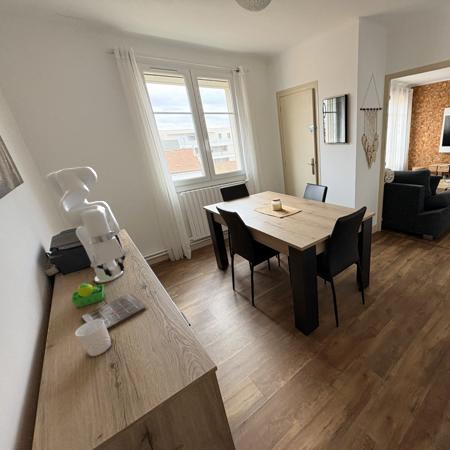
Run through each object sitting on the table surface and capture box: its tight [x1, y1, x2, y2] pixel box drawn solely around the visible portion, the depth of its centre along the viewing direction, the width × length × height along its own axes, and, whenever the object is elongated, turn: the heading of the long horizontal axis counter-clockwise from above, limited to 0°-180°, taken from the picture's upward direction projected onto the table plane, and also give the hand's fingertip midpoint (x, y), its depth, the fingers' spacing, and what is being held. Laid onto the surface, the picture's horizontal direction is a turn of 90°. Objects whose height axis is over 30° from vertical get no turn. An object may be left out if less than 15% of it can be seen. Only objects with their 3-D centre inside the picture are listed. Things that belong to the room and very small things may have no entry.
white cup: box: [74, 319, 112, 357], centre depth 86 cm, size 8×8×10 cm
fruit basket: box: [70, 283, 105, 308], centre depth 111 cm, size 11×9×11 cm
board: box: [81, 293, 146, 332], centre depth 104 cm, size 18×18×1 cm
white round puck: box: [109, 264, 122, 276], centre depth 110 cm, size 4×4×3 cm
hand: (115, 272), depth 111 cm, fingers closed on white round puck, 4 cm apart
